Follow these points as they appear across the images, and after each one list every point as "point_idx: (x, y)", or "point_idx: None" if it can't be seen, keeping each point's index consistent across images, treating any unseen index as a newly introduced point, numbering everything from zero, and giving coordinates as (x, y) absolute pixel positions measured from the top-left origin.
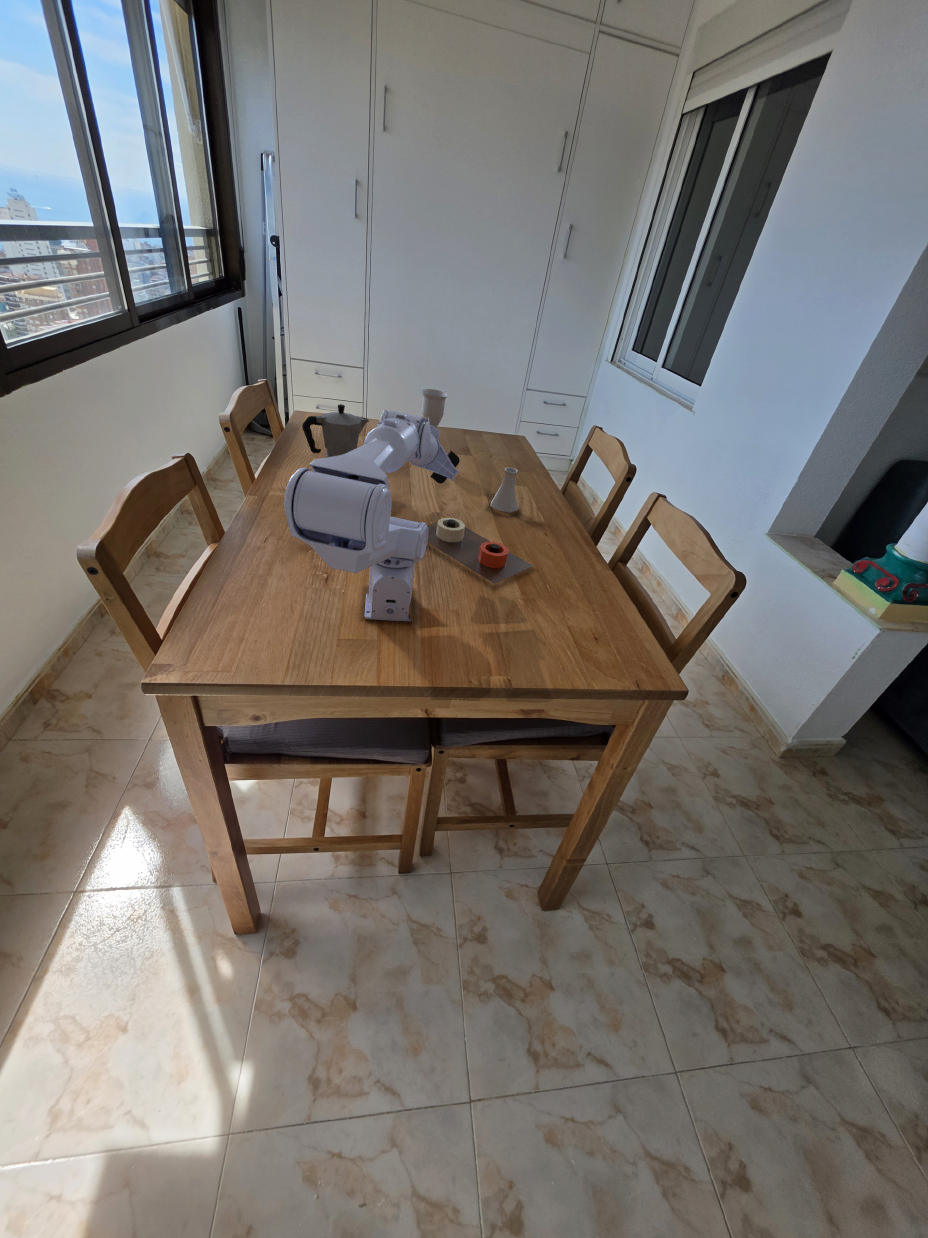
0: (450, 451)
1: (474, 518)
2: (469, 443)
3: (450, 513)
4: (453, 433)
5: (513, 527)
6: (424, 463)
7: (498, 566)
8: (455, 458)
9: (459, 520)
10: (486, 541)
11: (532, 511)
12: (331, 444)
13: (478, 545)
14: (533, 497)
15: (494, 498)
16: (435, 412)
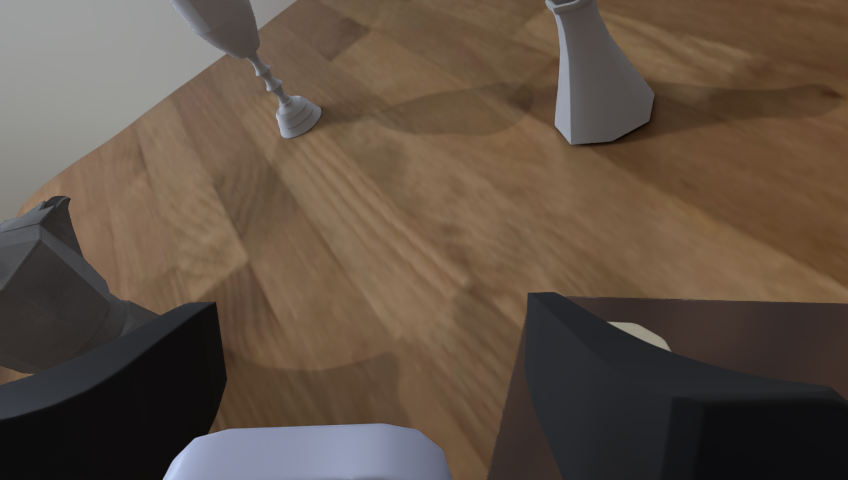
0: (684, 412)
1: (578, 217)
2: (341, 8)
3: (500, 257)
4: (295, 14)
5: (715, 153)
6: None
7: None
8: (808, 442)
9: (614, 324)
10: (762, 315)
11: (673, 51)
12: (23, 364)
13: (771, 370)
14: (614, 10)
15: (570, 108)
16: (226, 9)
